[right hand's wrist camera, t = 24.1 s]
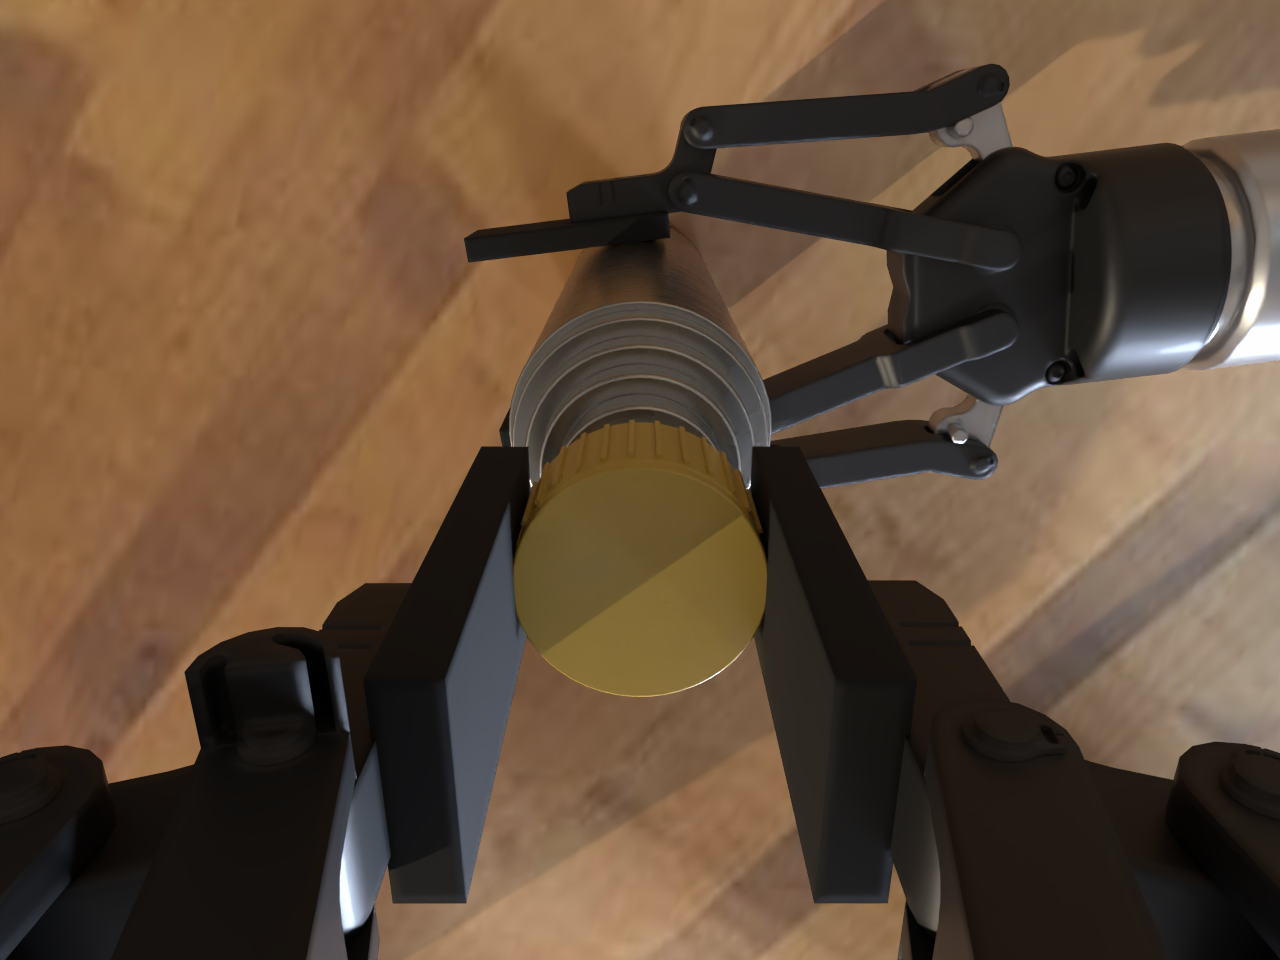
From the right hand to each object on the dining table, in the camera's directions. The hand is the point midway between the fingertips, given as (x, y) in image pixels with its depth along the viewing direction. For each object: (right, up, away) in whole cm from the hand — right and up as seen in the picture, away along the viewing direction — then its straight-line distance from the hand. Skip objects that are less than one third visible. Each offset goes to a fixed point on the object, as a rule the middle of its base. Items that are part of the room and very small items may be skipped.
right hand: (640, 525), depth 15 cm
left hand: (-5, +6, +16) cm, 18 cm away
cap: (0, -1, -2) cm, 2 cm away
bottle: (0, +9, +22) cm, 24 cm away
